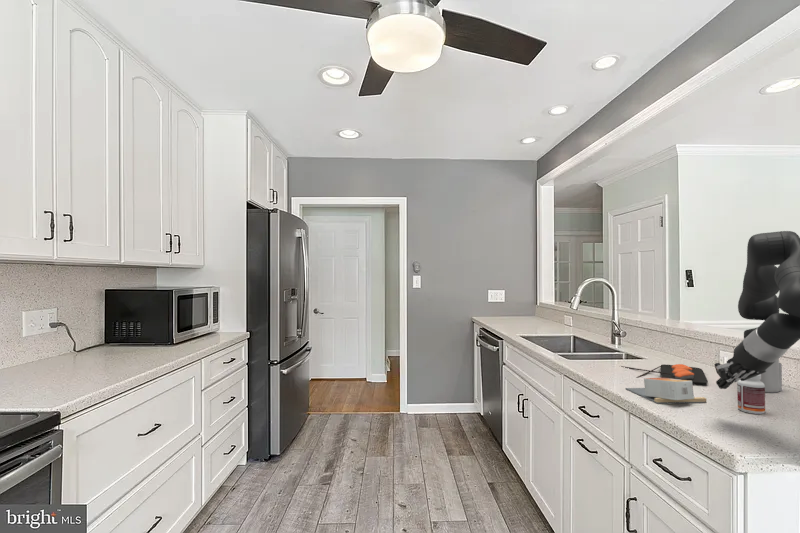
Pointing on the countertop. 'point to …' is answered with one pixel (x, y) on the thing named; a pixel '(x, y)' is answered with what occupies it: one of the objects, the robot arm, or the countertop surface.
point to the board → (665, 401)
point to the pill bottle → (751, 395)
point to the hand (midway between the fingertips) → (720, 385)
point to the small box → (669, 388)
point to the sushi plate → (679, 373)
